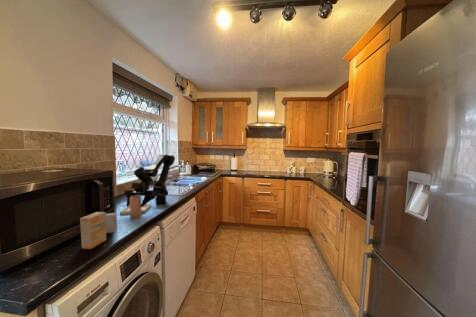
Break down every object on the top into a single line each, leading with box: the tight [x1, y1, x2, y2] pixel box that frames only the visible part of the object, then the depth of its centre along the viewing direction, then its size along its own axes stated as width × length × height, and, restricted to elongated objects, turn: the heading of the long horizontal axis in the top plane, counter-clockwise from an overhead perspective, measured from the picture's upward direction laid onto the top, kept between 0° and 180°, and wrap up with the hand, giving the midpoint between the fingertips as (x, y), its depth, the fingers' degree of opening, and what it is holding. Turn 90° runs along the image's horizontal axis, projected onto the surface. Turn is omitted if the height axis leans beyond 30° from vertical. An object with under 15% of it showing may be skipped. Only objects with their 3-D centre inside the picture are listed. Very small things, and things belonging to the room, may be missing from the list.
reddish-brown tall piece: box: [129, 195, 143, 220], centre depth 119 cm, size 6×6×12 cm
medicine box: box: [105, 212, 118, 234], centre depth 99 cm, size 8×4×9 cm, turn 108°
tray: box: [119, 203, 152, 216], centre depth 132 cm, size 15×15×2 cm
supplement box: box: [79, 211, 107, 250], centre depth 86 cm, size 8×5×13 cm, turn 172°
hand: (134, 206), depth 118 cm, fingers open, 9 cm apart
